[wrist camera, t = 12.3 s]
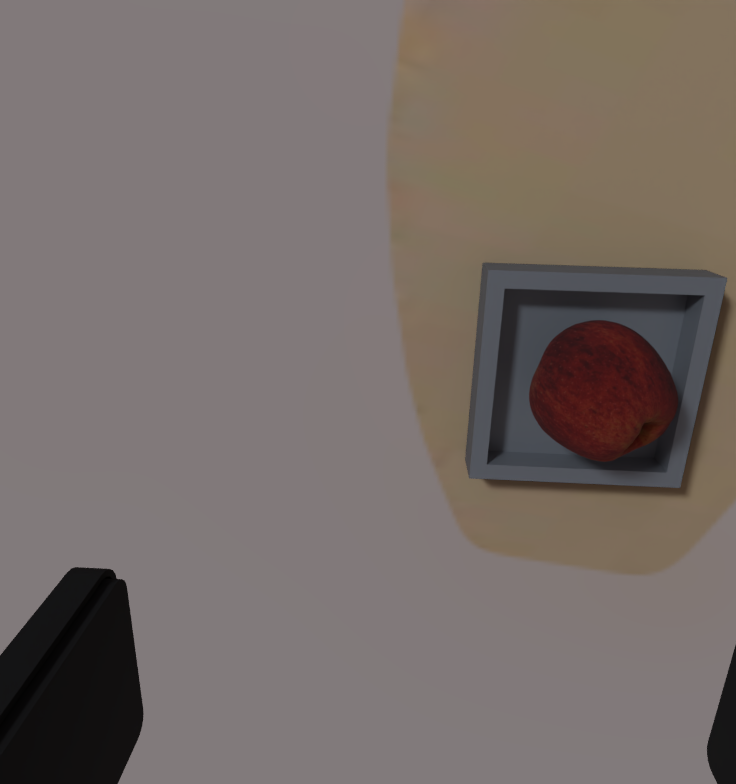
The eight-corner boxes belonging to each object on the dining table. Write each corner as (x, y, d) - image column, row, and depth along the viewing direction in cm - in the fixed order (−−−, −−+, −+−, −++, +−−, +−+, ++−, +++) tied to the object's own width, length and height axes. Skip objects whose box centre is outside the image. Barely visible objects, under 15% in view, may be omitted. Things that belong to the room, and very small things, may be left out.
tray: (482, 262, 37) (488, 269, 35) (705, 270, 37) (727, 277, 34) (465, 459, 42) (469, 478, 39) (663, 468, 41) (680, 487, 39)
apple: (551, 446, 41) (585, 511, 33) (495, 346, 38) (518, 391, 31) (661, 391, 39) (723, 447, 31) (609, 284, 37) (662, 316, 29)
